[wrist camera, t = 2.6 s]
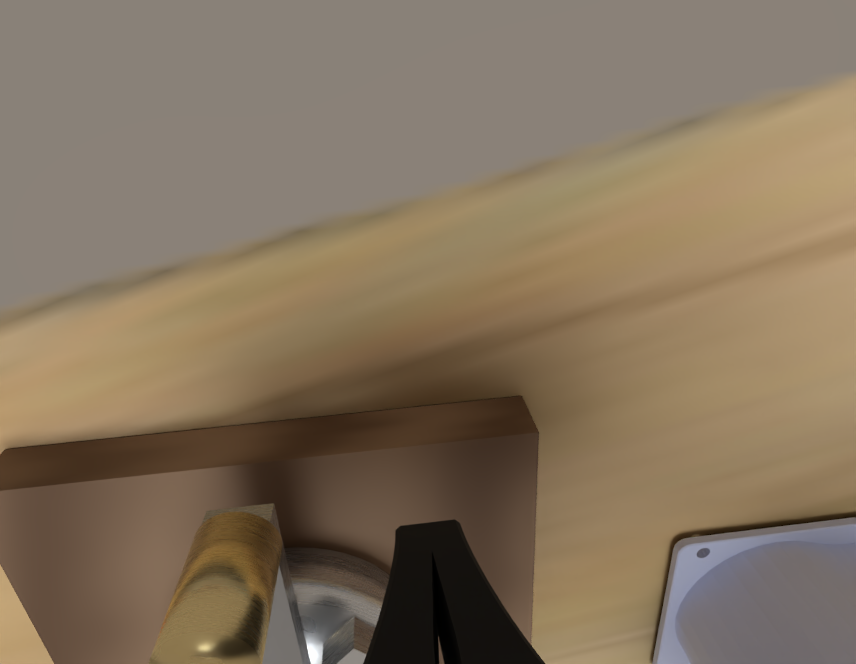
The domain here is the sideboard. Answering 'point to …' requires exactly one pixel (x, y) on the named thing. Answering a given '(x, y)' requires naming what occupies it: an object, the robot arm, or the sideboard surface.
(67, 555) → the base plate
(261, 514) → the grey crank wheel
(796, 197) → the sideboard surface
